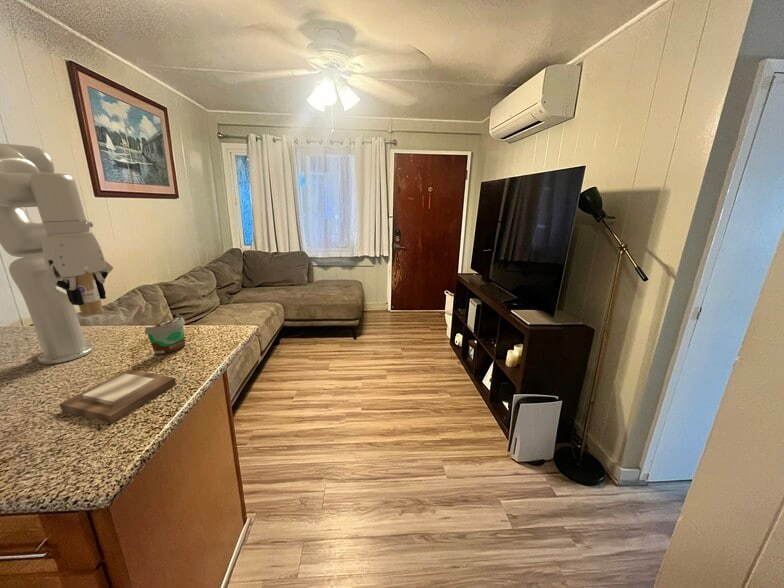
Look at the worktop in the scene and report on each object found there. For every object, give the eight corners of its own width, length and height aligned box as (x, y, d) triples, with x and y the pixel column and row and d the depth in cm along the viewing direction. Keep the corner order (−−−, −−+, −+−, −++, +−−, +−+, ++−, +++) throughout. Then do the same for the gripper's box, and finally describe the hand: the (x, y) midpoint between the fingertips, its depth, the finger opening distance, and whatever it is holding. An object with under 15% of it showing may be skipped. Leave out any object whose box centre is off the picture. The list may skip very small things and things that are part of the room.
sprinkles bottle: (79, 317, 80) (62, 264, 76) (83, 312, 84) (67, 261, 80) (103, 313, 82) (87, 261, 79) (106, 309, 86) (91, 259, 82)
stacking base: (62, 411, 76) (58, 400, 75) (131, 375, 91) (128, 366, 90) (112, 423, 72) (108, 412, 71) (176, 384, 86) (173, 374, 86)
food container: (167, 359, 99) (160, 329, 96) (151, 357, 101) (143, 327, 98) (198, 342, 111) (192, 314, 108) (183, 340, 112) (177, 313, 109)
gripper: (95, 225, 86) (113, 291, 91) (8, 232, 70) (37, 311, 75) (116, 225, 84) (133, 293, 89) (32, 232, 68) (59, 313, 73)
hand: (89, 300), depth 82 cm, fingers closed on sprinkles bottle, 4 cm apart
